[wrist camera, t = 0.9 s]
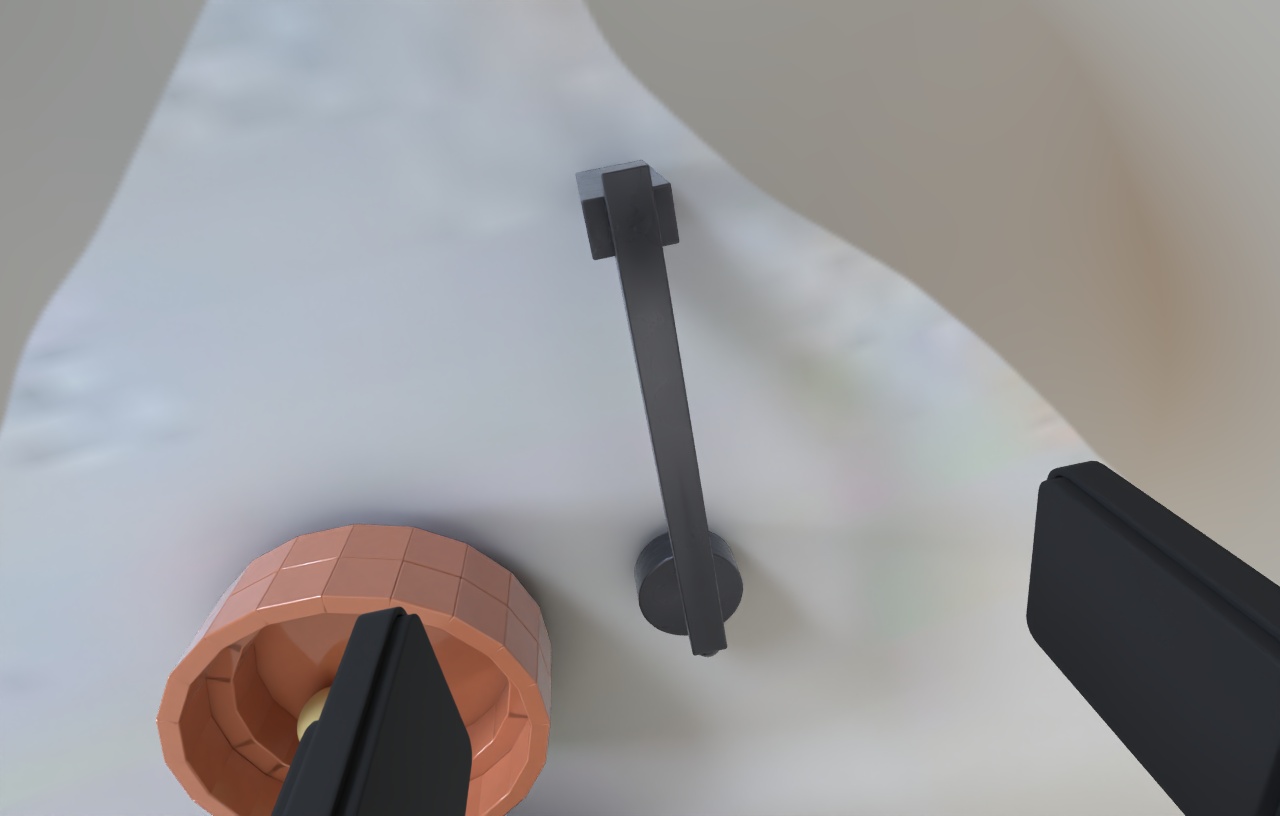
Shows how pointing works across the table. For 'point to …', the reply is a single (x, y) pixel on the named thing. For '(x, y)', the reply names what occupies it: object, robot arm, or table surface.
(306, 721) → the pale yellow ball
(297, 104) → the table surface
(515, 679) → the bowl
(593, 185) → the black lever handle
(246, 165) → the table surface
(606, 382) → the table surface
